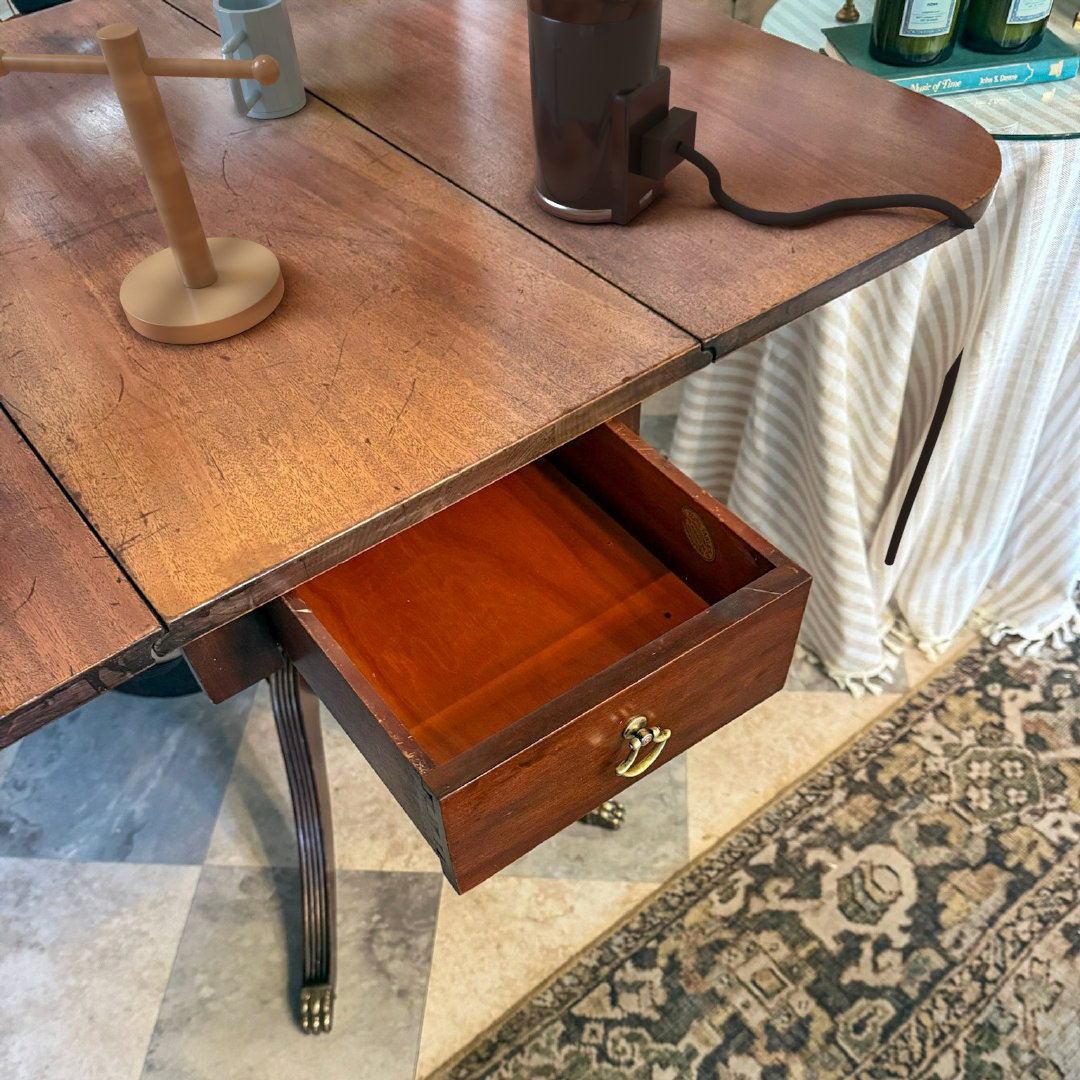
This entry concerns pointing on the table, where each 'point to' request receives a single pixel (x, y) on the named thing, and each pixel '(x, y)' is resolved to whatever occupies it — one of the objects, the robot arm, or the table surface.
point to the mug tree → (175, 199)
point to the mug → (261, 29)
